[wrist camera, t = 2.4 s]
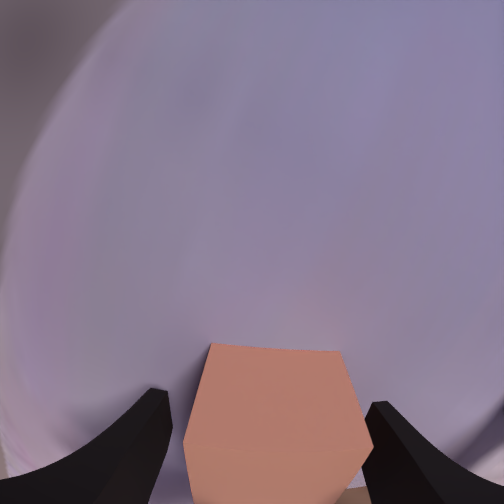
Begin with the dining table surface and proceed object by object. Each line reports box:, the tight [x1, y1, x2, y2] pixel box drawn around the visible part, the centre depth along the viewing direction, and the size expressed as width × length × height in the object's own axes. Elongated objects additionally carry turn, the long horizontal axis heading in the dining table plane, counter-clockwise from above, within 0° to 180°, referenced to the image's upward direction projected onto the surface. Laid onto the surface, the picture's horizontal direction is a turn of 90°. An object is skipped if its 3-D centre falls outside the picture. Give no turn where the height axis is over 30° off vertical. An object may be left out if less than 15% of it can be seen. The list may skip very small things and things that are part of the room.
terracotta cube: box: [183, 343, 374, 504], centre depth 8 cm, size 4×4×4 cm
